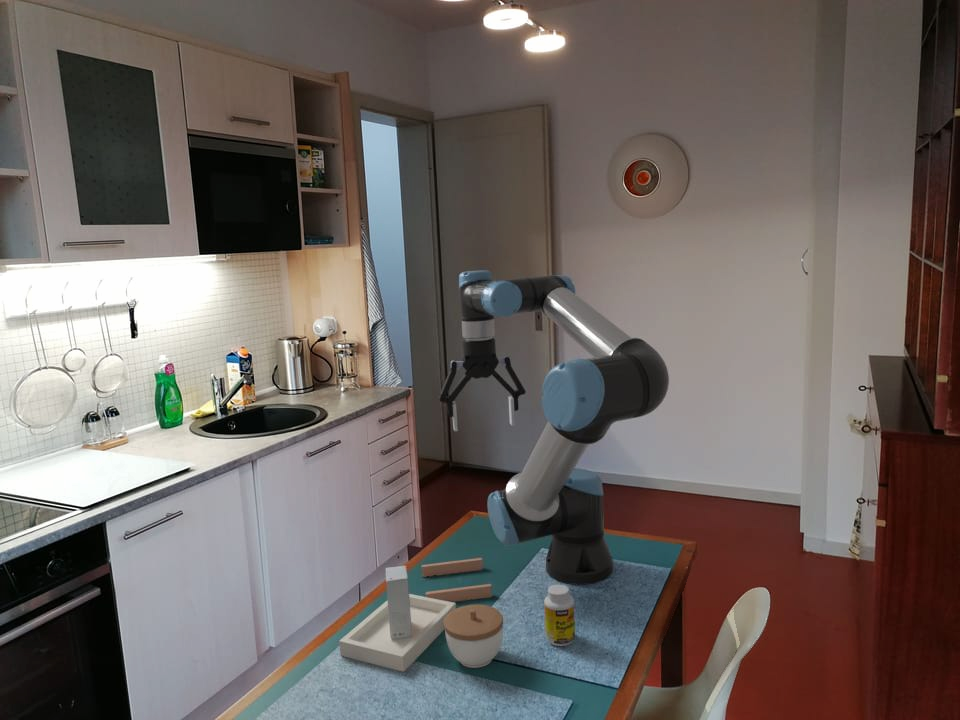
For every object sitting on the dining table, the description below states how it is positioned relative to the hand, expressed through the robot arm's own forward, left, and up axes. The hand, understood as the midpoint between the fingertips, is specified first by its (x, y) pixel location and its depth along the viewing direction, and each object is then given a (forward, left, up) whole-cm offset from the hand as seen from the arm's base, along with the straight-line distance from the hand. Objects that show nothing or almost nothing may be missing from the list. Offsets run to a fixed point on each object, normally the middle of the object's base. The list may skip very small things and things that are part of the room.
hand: (484, 427), depth 167 cm
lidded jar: (-26, +35, -32) cm, 54 cm away
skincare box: (-9, +38, -31) cm, 50 cm away
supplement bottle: (-35, +21, -32) cm, 52 cm away
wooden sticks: (-4, +17, -32) cm, 36 cm away
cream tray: (-9, +38, -32) cm, 50 cm away
